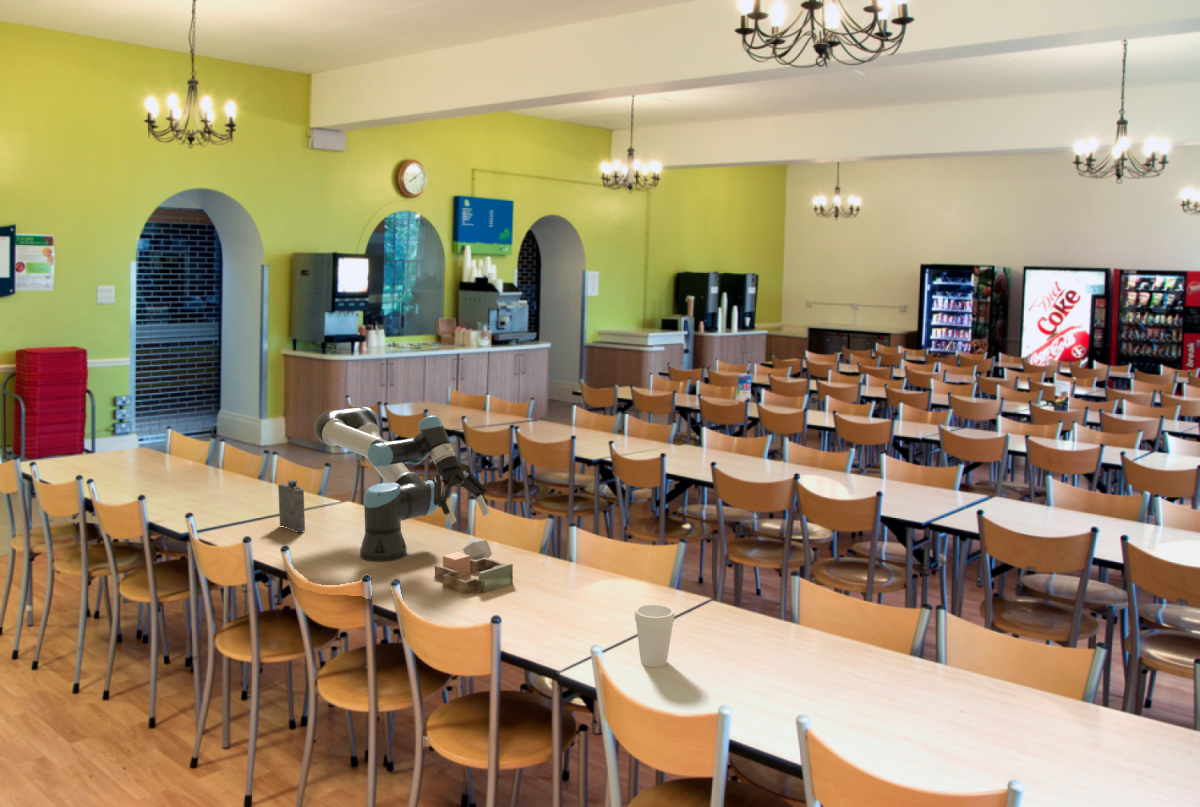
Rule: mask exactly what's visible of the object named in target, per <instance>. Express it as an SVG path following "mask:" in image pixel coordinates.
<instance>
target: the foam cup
mask: <svg viewBox="0 0 1200 807" xmlns="http://www.w3.org/2000/svg"><path fill="white" fill-rule="evenodd" d="M634 619H635V626H636V633H637V640H638V651H639V659H640V663H641V665H643V666H645V667H648V668H660V667H661V668H662V667H664V666H665V665H667V663H668V657H669V651H670V650H669V649H670V644H671V638H672V631H673V624H674V622H675V611H674V609H673V608H672V607H670V606H668V605H666V604H665V605H664V604H659V603H658V604H657V603H651V604H649V603H648V604H642V605H639V606H637V607H636V608H635V610H634Z"/></svg>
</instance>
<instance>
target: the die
mask: <svg viewBox="0 0 1200 807" xmlns="http://www.w3.org/2000/svg"><path fill="white" fill-rule="evenodd" d="M462 550H463V554H466V555H469V556H470V558H471V559H474V560H478V559H481V558H489V559H490V557H491V556H492V555H493V552H492V550H491V547H490V545H489V542H488V540H487V539H483V538H476V537H475V538H474V537H472V539H471V540H470V541H468V543H467V544H466V545H465V546H464V547H463V549H462Z"/></svg>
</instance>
